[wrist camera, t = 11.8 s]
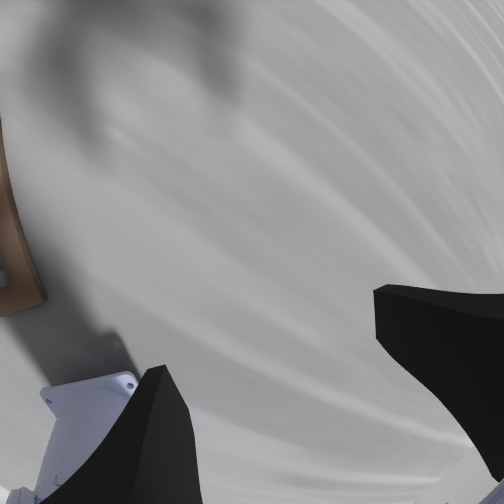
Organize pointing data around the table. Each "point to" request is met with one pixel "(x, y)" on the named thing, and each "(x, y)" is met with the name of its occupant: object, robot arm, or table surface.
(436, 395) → the robot arm
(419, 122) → the table surface
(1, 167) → the holder
